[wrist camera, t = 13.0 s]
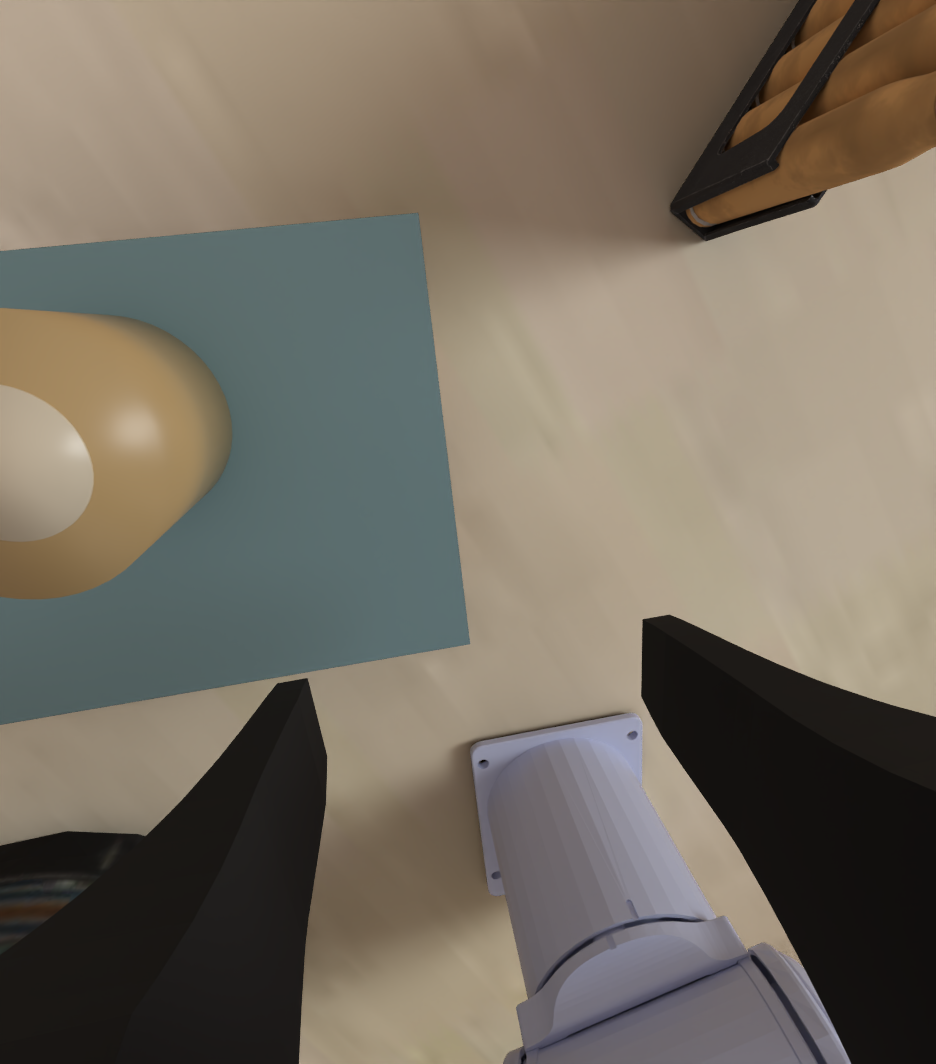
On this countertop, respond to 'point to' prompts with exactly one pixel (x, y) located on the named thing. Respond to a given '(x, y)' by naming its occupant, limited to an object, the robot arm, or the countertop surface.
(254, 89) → the countertop surface
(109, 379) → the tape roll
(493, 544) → the countertop surface
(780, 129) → the ammunition clip
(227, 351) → the lid
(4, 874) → the beer stein
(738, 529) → the countertop surface
